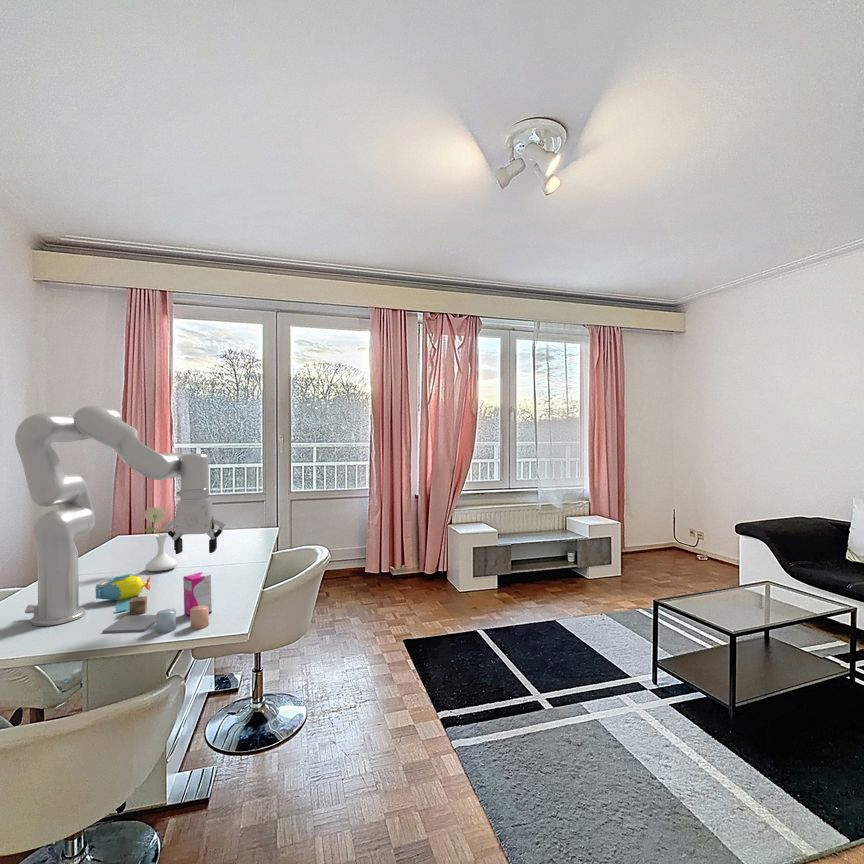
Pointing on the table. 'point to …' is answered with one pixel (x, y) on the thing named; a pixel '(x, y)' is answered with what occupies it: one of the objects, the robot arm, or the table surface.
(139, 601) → the walnut block
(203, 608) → the peach dome cap
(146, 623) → the coaster
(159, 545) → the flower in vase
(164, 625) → the pale blue dome knob
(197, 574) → the supplement box
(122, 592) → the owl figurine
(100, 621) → the table surface
